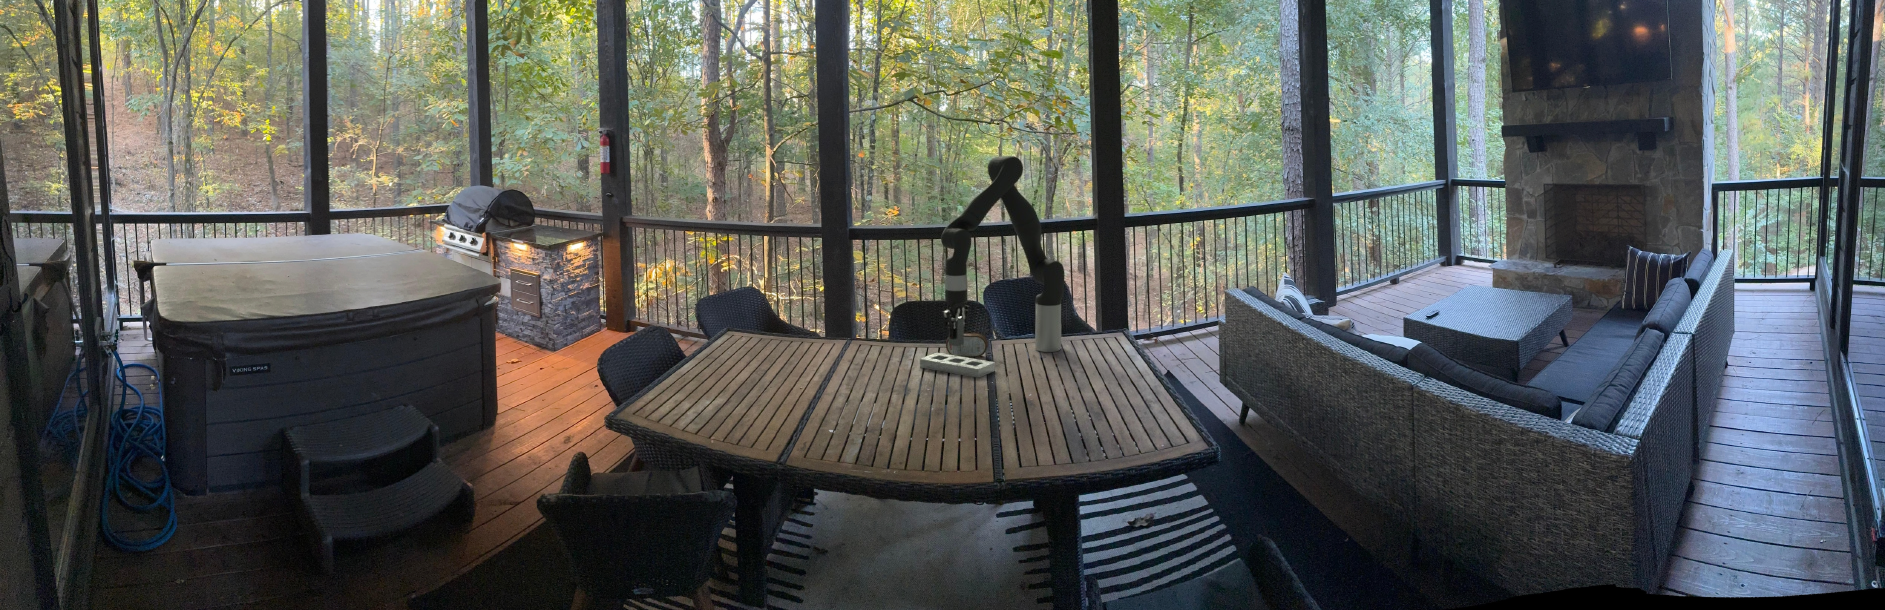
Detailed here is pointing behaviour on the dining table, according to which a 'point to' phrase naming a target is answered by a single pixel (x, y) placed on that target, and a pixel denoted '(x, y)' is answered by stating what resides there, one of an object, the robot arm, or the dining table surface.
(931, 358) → the rail
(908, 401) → the dining table surface
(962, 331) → the square peg
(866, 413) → the dining table surface
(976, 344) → the tin
